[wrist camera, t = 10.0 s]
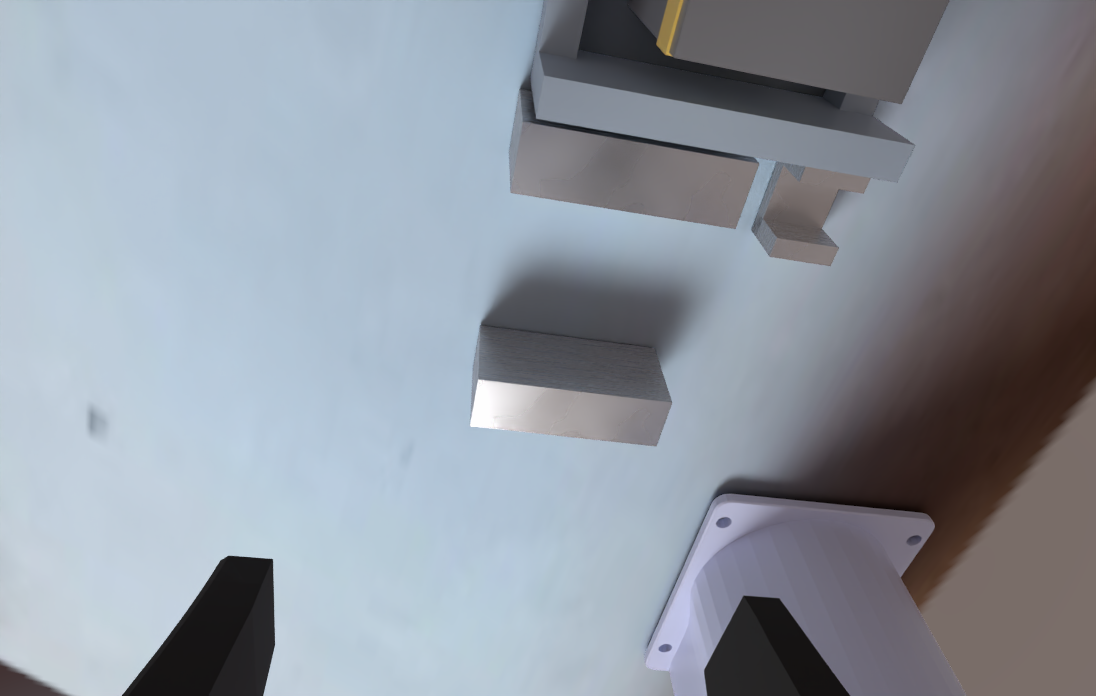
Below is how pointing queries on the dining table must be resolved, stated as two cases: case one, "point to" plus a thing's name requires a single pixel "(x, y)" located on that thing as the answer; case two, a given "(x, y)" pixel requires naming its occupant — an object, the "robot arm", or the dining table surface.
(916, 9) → the block
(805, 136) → the holder
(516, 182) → the brushed metal block
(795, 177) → the clip
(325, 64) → the dining table surface
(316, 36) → the dining table surface
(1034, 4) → the dining table surface
